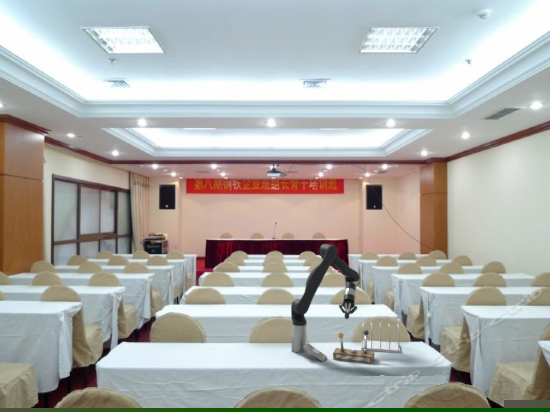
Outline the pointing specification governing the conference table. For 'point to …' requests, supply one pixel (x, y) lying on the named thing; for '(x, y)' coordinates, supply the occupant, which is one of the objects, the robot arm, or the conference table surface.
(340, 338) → the lever orange
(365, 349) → the lever black
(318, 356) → the light switch
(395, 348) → the file sorter
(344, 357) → the switch panel
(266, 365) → the conference table surface
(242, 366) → the conference table surface
